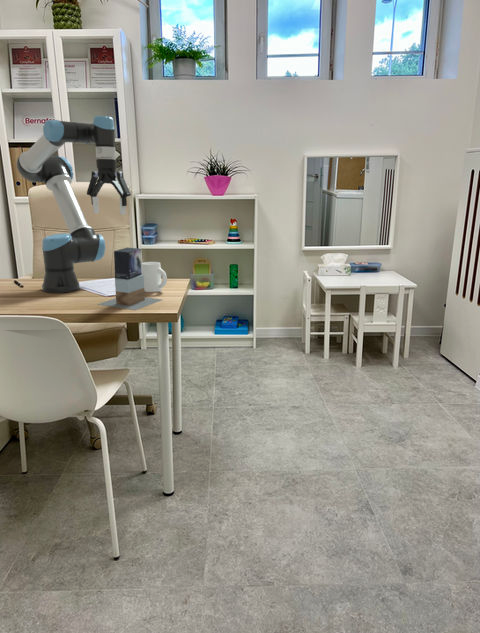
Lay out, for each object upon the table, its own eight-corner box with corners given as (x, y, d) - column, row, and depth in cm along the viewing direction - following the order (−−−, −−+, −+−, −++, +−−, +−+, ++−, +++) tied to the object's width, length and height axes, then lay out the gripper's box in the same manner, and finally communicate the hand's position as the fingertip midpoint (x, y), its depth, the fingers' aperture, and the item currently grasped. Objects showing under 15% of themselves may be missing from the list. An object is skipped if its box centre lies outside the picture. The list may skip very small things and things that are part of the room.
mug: (160, 294, 200) (159, 266, 197) (138, 291, 206) (137, 263, 202) (172, 291, 207) (171, 263, 204) (150, 287, 213) (149, 261, 209)
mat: (96, 305, 183) (96, 304, 183) (126, 295, 198) (126, 294, 198) (135, 311, 175) (135, 310, 175) (163, 300, 191) (163, 299, 191)
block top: (115, 291, 182) (114, 278, 181) (131, 286, 191) (131, 273, 190) (128, 292, 180) (127, 279, 178) (144, 287, 188) (143, 275, 187)
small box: (130, 279, 178) (128, 251, 175) (114, 278, 180) (112, 250, 177) (142, 274, 188) (141, 247, 185) (127, 273, 190) (126, 247, 187)
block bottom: (116, 303, 184) (115, 291, 182) (132, 298, 192) (131, 286, 191) (129, 305, 181) (128, 292, 180) (144, 300, 190) (144, 287, 189)
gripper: (74, 158, 190) (79, 213, 196) (125, 158, 180) (128, 215, 186) (88, 159, 197) (92, 212, 203) (137, 158, 187) (140, 214, 192)
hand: (109, 213), depth 194 cm, fingers open, 13 cm apart
